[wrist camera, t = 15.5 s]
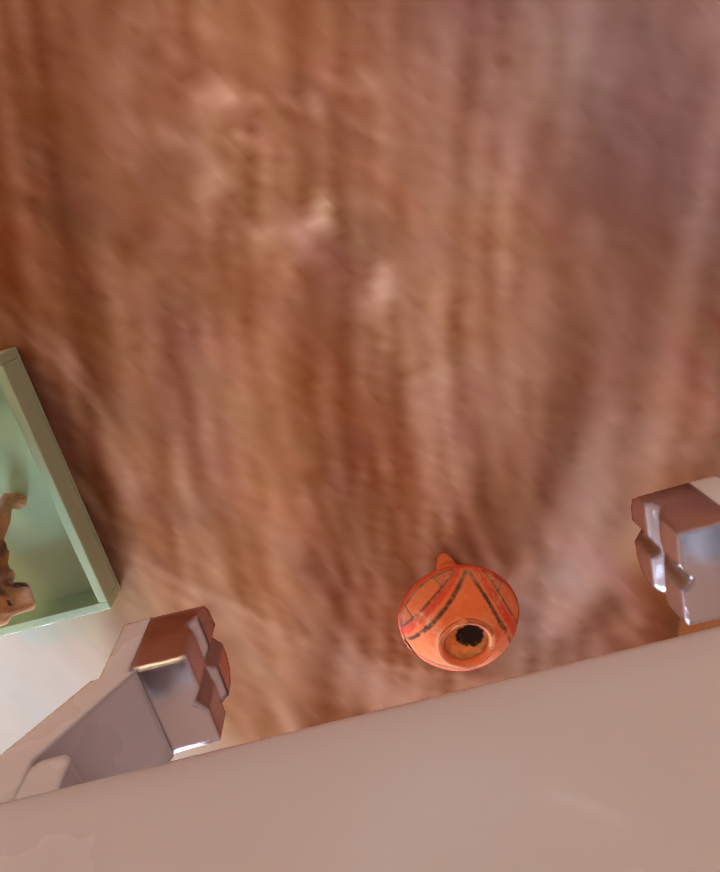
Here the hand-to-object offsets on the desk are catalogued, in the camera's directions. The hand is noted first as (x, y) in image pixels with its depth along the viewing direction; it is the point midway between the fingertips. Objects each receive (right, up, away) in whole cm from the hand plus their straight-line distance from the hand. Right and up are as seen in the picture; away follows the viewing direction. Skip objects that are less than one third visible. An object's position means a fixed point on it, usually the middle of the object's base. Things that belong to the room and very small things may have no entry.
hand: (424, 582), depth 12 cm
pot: (+5, -8, +34) cm, 35 cm away
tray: (-24, -1, +30) cm, 38 cm away
